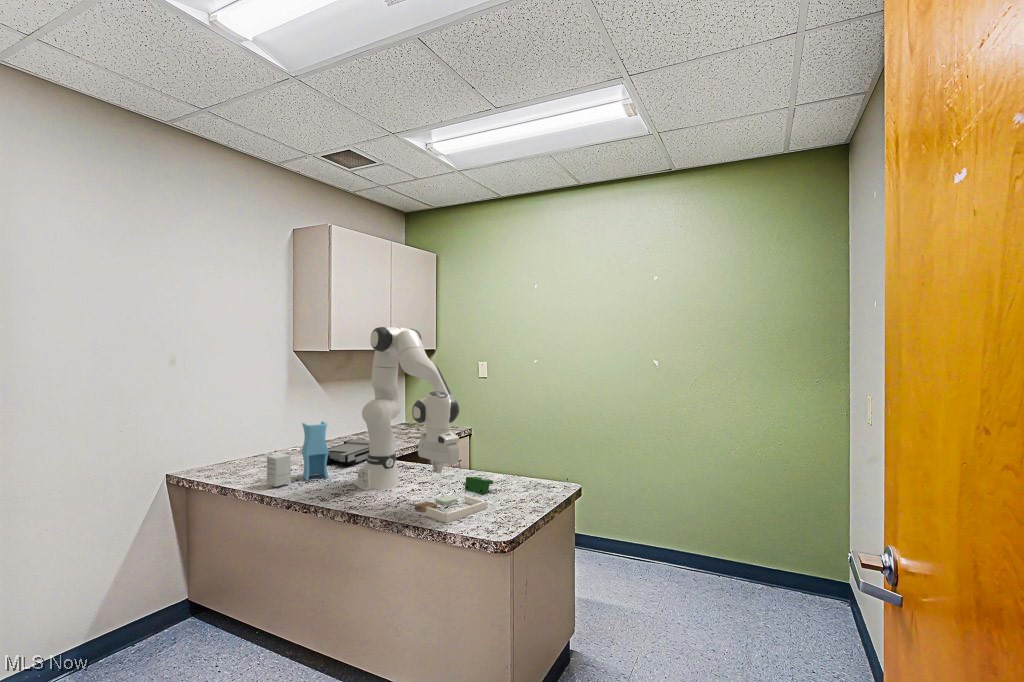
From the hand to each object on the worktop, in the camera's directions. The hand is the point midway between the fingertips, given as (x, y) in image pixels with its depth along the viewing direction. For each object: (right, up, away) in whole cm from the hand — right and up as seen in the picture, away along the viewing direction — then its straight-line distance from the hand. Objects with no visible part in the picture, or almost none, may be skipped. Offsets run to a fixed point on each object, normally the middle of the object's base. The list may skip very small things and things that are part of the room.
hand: (437, 472), depth 190 cm
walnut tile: (-5, -15, +4) cm, 16 cm away
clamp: (+12, -16, +26) cm, 33 cm away
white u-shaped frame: (+7, -15, -1) cm, 16 cm away
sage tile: (+2, -15, +11) cm, 19 cm away
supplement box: (-76, -15, +38) cm, 87 cm away
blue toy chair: (-65, -15, +50) cm, 84 cm away
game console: (-59, -16, +84) cm, 104 cm away
